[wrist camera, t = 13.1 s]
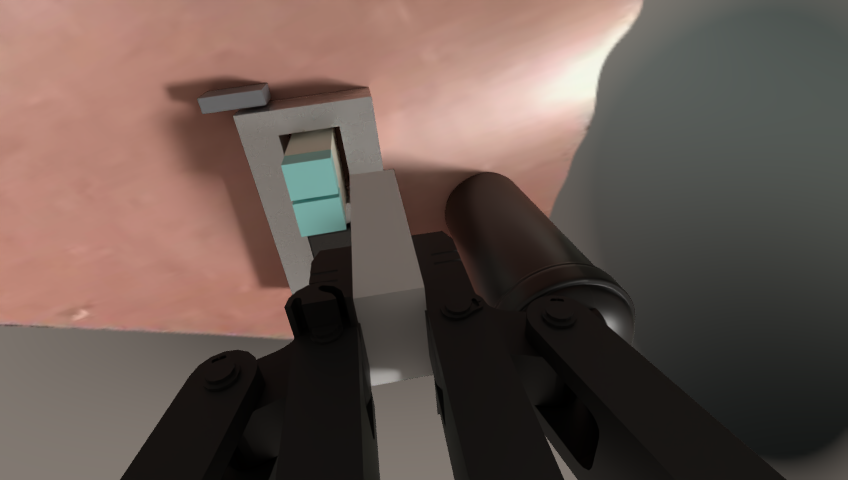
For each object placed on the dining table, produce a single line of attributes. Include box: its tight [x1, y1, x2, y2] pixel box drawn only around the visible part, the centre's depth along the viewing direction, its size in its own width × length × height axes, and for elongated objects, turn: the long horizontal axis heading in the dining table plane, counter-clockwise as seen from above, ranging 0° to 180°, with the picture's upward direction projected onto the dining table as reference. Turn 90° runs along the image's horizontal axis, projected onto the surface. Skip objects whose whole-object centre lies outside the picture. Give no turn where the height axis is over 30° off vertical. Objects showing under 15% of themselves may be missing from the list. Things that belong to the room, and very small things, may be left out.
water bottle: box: [445, 173, 635, 345], centre depth 36 cm, size 10×10×23 cm
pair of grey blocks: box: [197, 83, 271, 114], centre depth 33 cm, size 9×5×3 cm, turn 6°
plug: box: [281, 127, 346, 237], centre depth 36 cm, size 6×4×10 cm, turn 6°
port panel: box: [233, 87, 383, 295], centre depth 40 cm, size 20×11×5 cm, turn 6°
